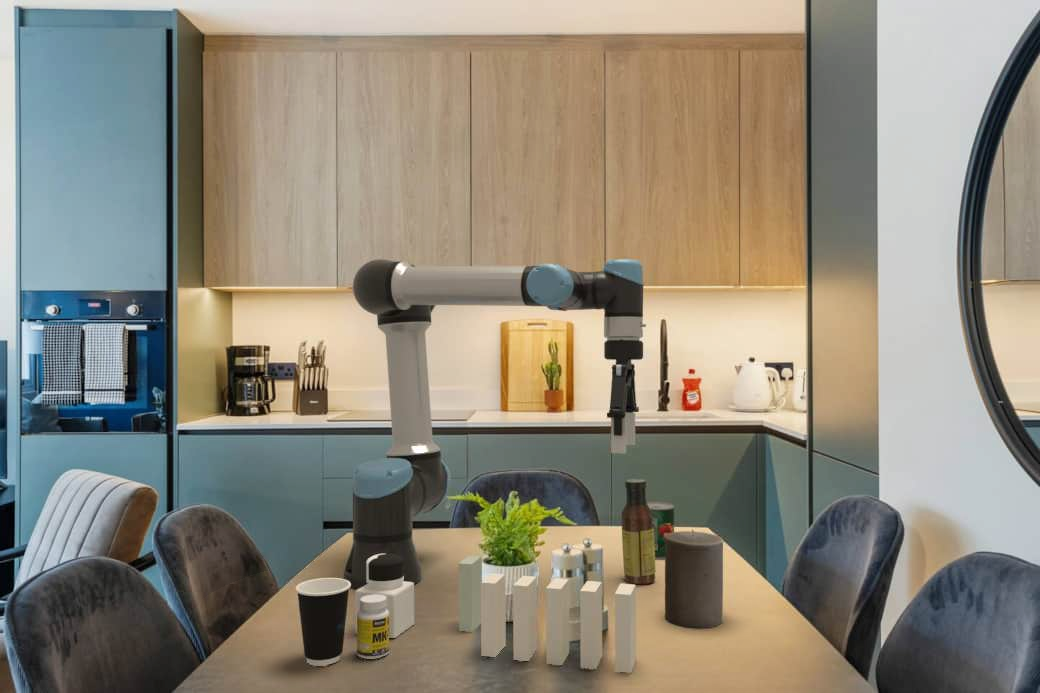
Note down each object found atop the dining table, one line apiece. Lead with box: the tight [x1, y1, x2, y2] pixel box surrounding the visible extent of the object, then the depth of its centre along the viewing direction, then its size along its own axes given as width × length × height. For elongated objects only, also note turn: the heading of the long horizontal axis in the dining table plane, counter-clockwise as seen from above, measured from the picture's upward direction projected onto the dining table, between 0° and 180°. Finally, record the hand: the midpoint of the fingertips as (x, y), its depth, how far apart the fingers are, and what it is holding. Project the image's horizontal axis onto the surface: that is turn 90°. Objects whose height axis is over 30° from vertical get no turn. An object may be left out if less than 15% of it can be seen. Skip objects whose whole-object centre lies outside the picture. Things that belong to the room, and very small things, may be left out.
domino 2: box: [512, 575, 538, 662], centre depth 115 cm, size 2×5×11 cm, turn 163°
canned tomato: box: [646, 501, 675, 560], centre depth 172 cm, size 8×8×11 cm
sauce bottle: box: [621, 478, 657, 585], centre depth 152 cm, size 6×6×20 cm
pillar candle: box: [664, 529, 724, 629], centre depth 131 cm, size 10×10×15 cm
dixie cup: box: [295, 577, 351, 665], centre depth 114 cm, size 8×8×11 cm
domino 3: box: [545, 577, 570, 667], centre depth 114 cm, size 2×5×11 cm, turn 163°
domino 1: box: [480, 572, 507, 658], centre depth 117 cm, size 2×5×11 cm, turn 163°
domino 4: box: [579, 580, 603, 670], centre depth 112 cm, size 2×5×11 cm, turn 163°
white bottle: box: [354, 553, 415, 639], centre depth 126 cm, size 7×7×12 cm
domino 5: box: [614, 583, 637, 674], centre depth 111 cm, size 2×5×11 cm, turn 163°
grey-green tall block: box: [458, 555, 483, 633], centre depth 127 cm, size 2×5×11 cm, turn 163°
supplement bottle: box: [356, 594, 390, 660], centre depth 116 cm, size 5×5×8 cm
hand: (623, 448), depth 150 cm, fingers open, 13 cm apart
